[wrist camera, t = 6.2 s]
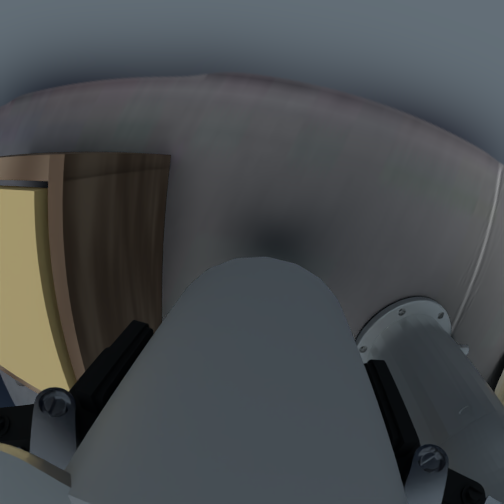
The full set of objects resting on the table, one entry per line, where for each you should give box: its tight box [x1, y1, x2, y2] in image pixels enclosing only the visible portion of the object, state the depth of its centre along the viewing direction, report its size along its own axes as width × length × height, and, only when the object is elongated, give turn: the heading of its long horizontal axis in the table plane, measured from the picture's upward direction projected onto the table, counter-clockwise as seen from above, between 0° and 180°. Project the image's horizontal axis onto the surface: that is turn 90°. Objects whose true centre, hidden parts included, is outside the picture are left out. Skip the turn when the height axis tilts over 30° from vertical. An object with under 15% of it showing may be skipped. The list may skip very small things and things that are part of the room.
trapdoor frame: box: [0, 152, 171, 394], centre depth 19 cm, size 19×19×14 cm
